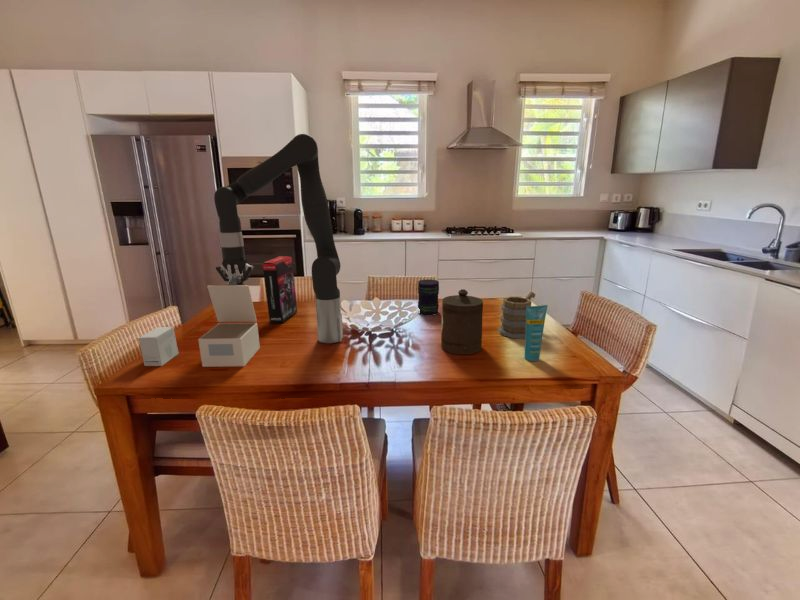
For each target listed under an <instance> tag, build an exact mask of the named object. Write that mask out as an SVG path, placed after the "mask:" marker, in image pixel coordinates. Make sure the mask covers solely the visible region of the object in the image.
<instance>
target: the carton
mask: <svg viewBox="0 0 800 600" xmlns="http://www.w3.org/2000/svg"><path fill="white" fill-rule="evenodd" d="M198 346H199V353H200V354H199V355H200V360H201V366H202V367H203V368H204V367H208V368H209V367H211V368H212V367H214V368H215V367H246V365H247V364H248V362H250V360H252V358H253V357H254V356H255V354H256V353H257V352H258V351H259V350H260V348H261V346H260V336H259V327H258V323H257V322H232V323H231V322H226V323H225V322H218V324H215V326H213V327H212V328H211V329H210V330H209V331H207V332H206V333H204V334H203V335H202V336H201V337H200V338H198Z"/></svg>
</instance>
